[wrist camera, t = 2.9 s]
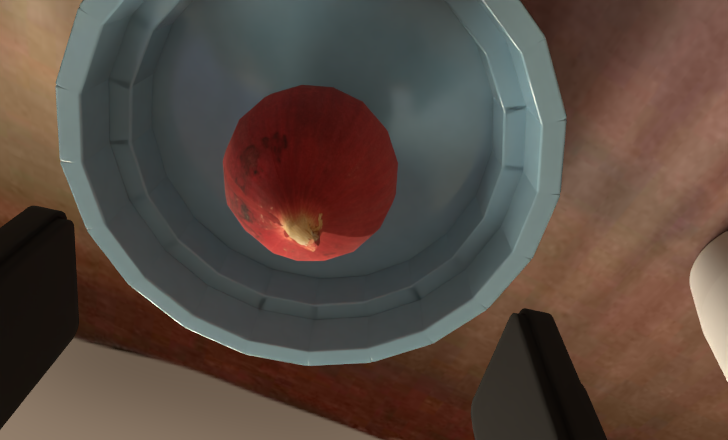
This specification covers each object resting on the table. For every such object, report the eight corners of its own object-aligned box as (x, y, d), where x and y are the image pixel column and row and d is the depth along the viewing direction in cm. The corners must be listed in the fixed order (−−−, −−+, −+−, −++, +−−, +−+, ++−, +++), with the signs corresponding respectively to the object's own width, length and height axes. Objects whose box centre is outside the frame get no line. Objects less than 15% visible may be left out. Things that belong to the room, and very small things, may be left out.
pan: (118, 261, 25) (68, 322, 21) (117, -161, 17) (37, -191, 13) (458, 327, 26) (472, 396, 22) (600, -38, 18) (661, -31, 14)
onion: (254, 198, 23) (197, 317, 16) (245, 61, 20) (169, 129, 13) (390, 204, 23) (394, 326, 16) (399, 67, 20) (409, 139, 13)
